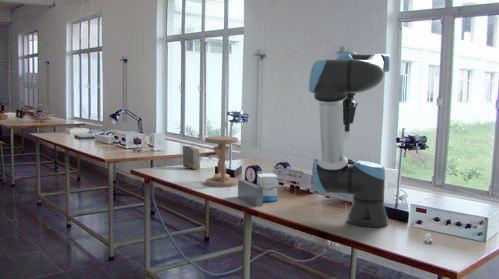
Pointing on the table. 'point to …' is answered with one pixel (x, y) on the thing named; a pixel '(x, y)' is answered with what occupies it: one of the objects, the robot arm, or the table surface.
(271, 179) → the ink box
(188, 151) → the geological specimen
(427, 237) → the power adapter
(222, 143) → the hourglass
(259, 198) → the block
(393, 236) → the table surface
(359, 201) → the robot arm
